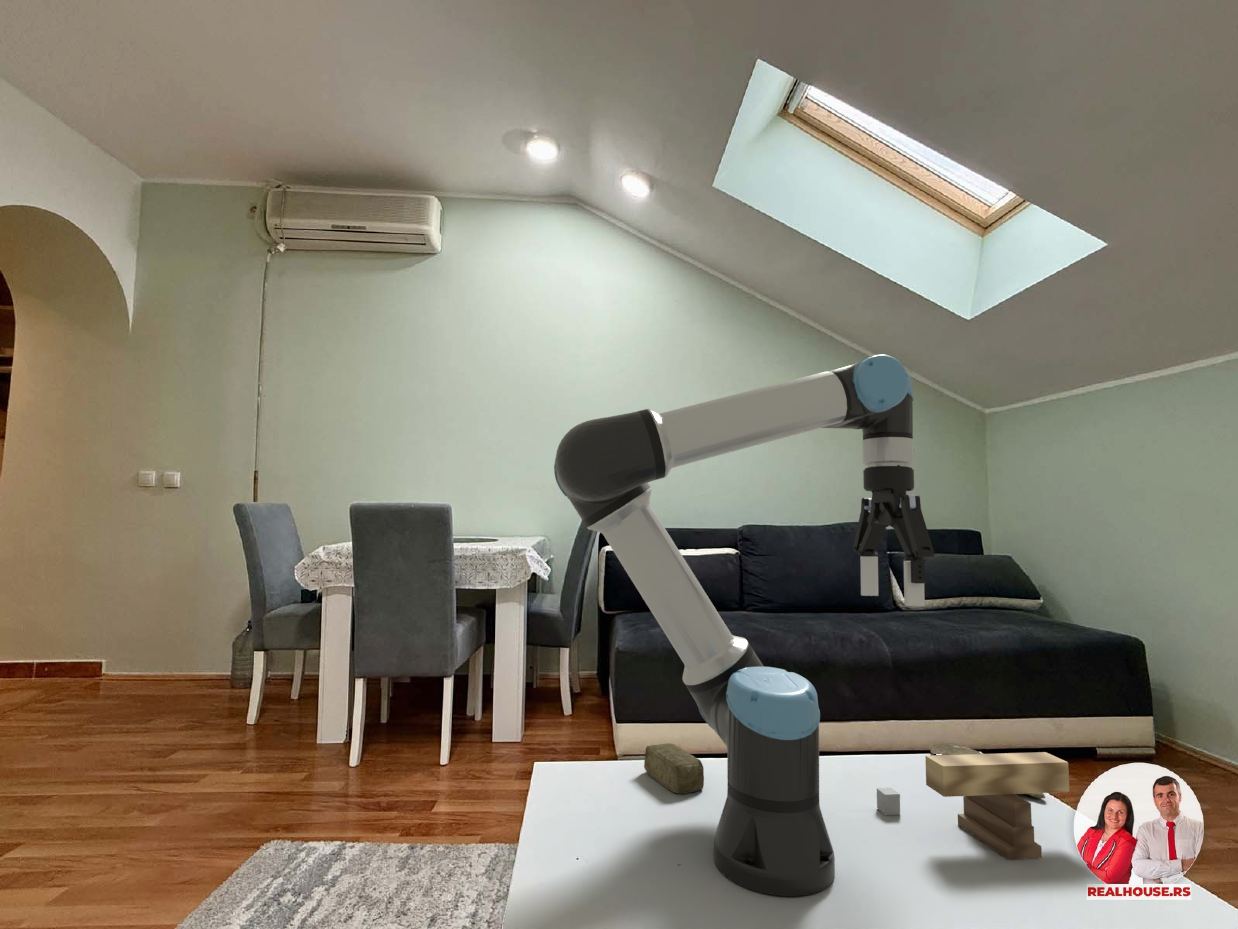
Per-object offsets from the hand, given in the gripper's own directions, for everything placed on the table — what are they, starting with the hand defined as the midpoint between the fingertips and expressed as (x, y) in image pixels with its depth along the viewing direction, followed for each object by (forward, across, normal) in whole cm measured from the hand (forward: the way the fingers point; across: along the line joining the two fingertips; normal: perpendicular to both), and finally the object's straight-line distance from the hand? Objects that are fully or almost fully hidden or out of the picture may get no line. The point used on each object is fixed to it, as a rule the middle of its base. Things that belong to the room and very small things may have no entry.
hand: (890, 600), depth 101 cm
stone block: (+32, +13, +32) cm, 47 cm away
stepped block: (+32, -9, -10) cm, 35 cm away
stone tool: (+33, +15, -23) cm, 43 cm away
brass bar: (+25, -9, -10) cm, 28 cm away
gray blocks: (+32, 0, -7) cm, 33 cm away
